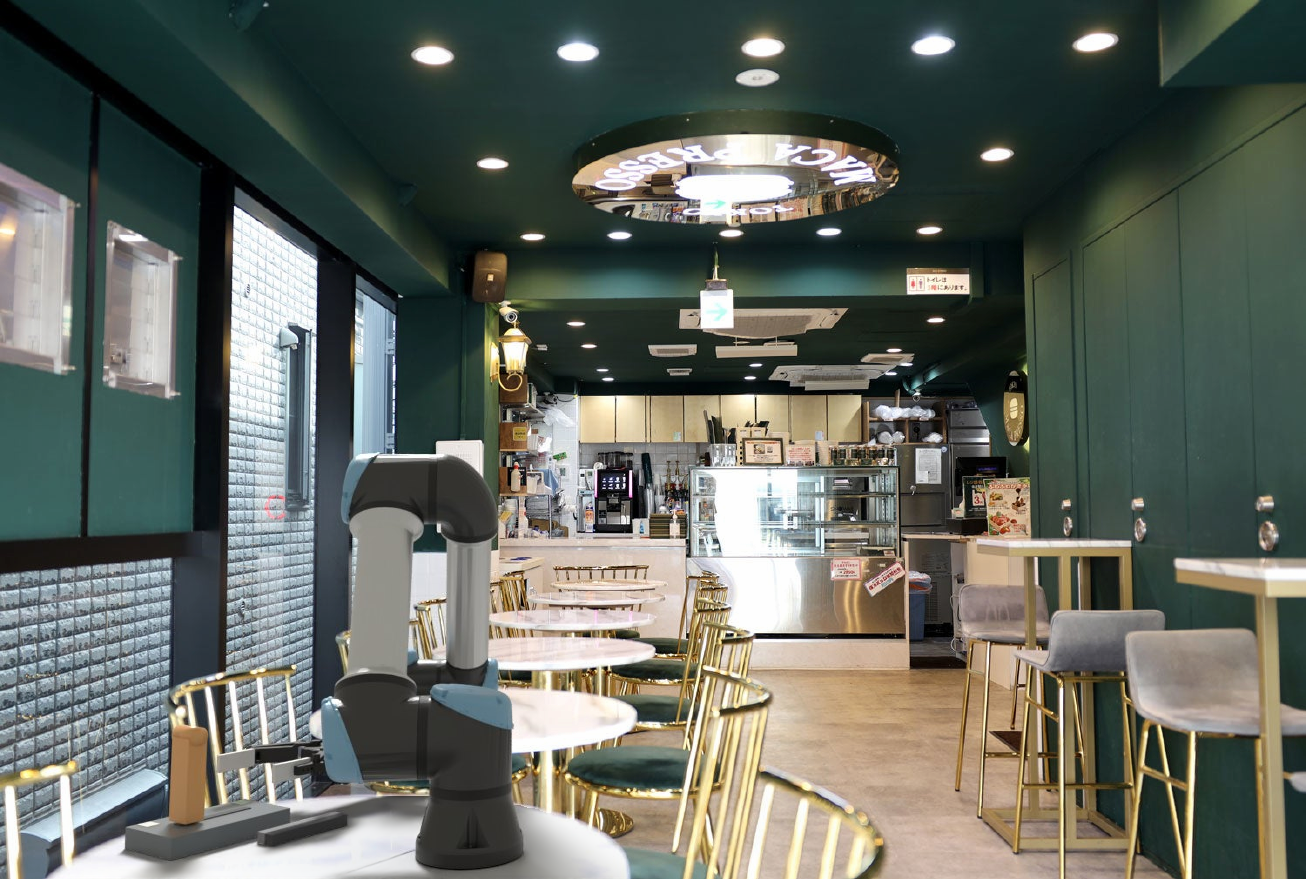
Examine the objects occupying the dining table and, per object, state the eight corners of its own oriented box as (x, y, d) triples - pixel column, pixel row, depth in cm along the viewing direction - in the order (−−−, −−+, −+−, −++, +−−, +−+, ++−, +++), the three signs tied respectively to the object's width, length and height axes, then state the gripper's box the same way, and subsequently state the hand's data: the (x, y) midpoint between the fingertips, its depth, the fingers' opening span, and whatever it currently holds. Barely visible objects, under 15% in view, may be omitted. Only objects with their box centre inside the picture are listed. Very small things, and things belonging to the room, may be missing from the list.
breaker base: (289, 827, 163) (290, 806, 163) (170, 860, 146) (171, 836, 146) (244, 818, 169) (244, 797, 169) (124, 848, 152) (125, 825, 152)
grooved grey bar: (347, 824, 165) (347, 814, 165) (272, 846, 153) (272, 835, 153) (332, 821, 167) (333, 811, 167) (257, 842, 155) (257, 831, 155)
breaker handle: (206, 820, 154) (209, 726, 156) (187, 824, 152) (191, 729, 153) (185, 815, 157) (189, 723, 158) (166, 820, 155) (170, 725, 156)
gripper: (403, 777, 174) (297, 804, 156) (303, 761, 188) (195, 783, 170) (404, 731, 175) (299, 752, 157) (304, 718, 188) (197, 736, 171)
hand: (244, 768), depth 163 cm, fingers open, 13 cm apart
